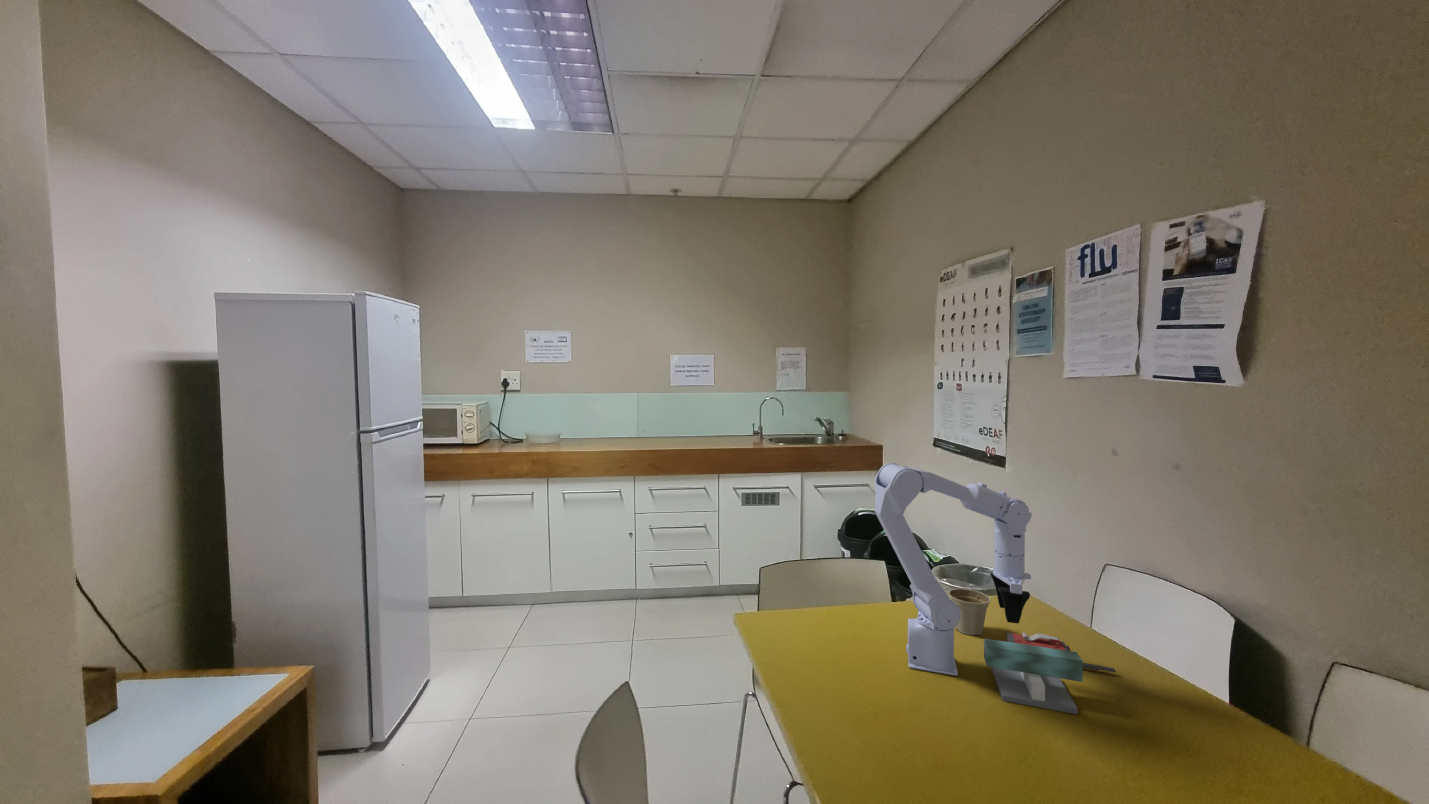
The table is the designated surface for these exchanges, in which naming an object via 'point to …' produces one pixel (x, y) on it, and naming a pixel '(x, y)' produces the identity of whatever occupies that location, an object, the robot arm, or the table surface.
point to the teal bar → (1033, 660)
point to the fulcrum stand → (1033, 690)
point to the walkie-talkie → (1048, 645)
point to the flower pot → (970, 610)
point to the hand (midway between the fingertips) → (1008, 614)
